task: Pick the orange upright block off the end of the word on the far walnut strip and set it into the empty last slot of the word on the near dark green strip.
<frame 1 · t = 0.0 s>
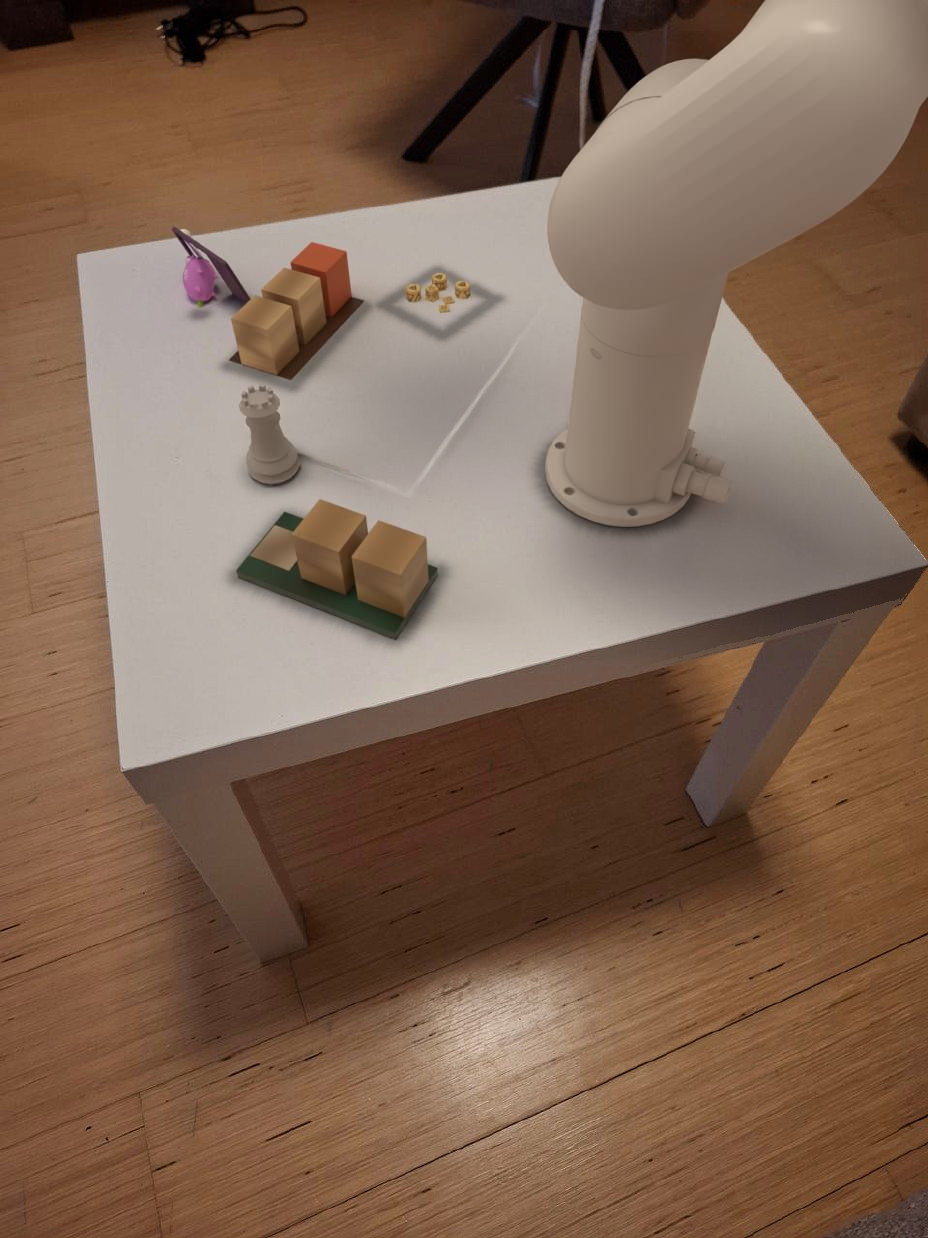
rook chess piece: (275, 470, 78), on the table
near word: (338, 575, 71), on the table
far word: (299, 335, 90), on the table
orange upright block: (325, 301, 92), point 1 cm above the table, touching far word
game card: (213, 304, 93), on the table
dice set: (440, 303, 93), on the table
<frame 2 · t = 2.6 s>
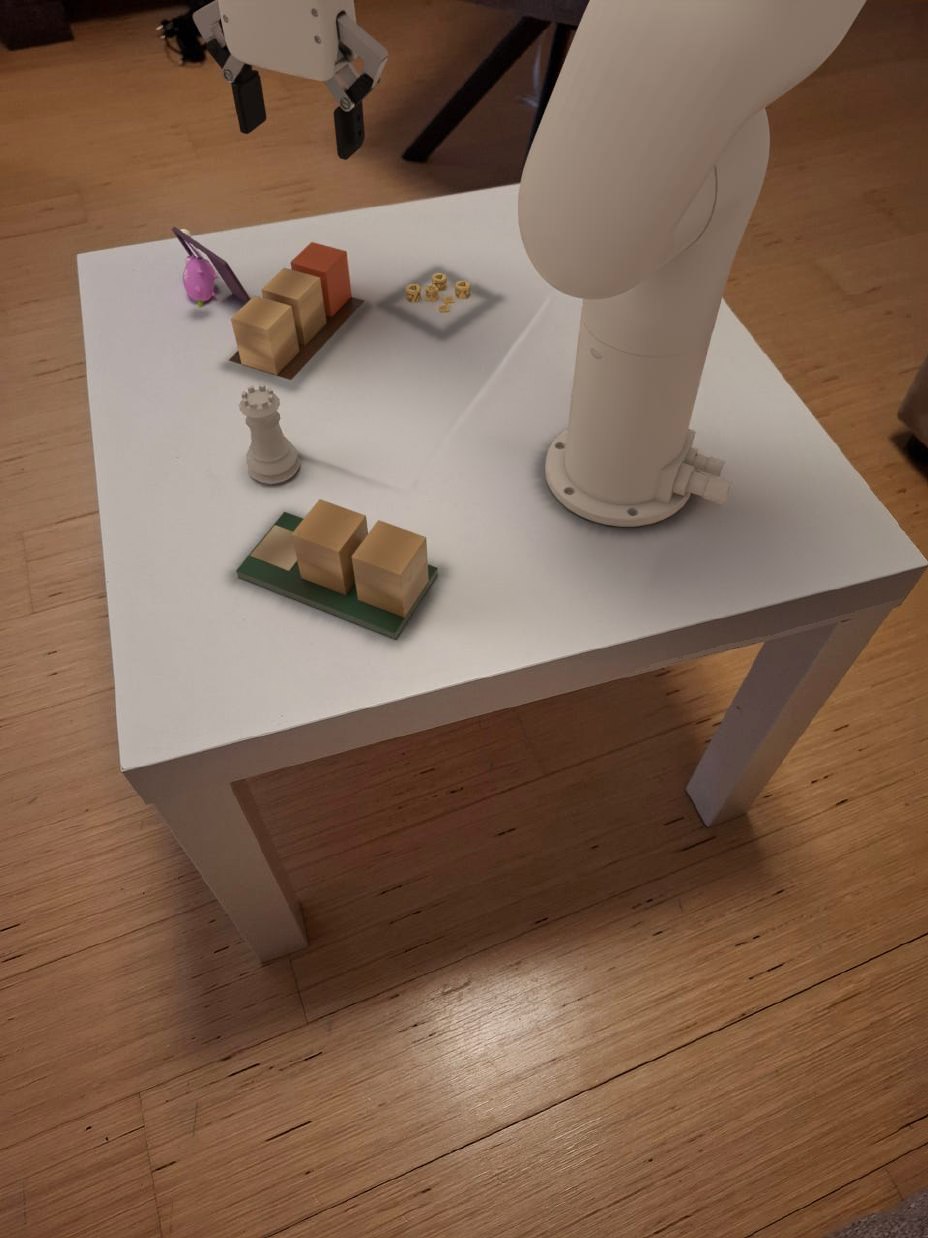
hand: (301, 139, 78), 17 cm above the table, tool pointing down, fingers open, 9 cm apart
nothing on the table moved.
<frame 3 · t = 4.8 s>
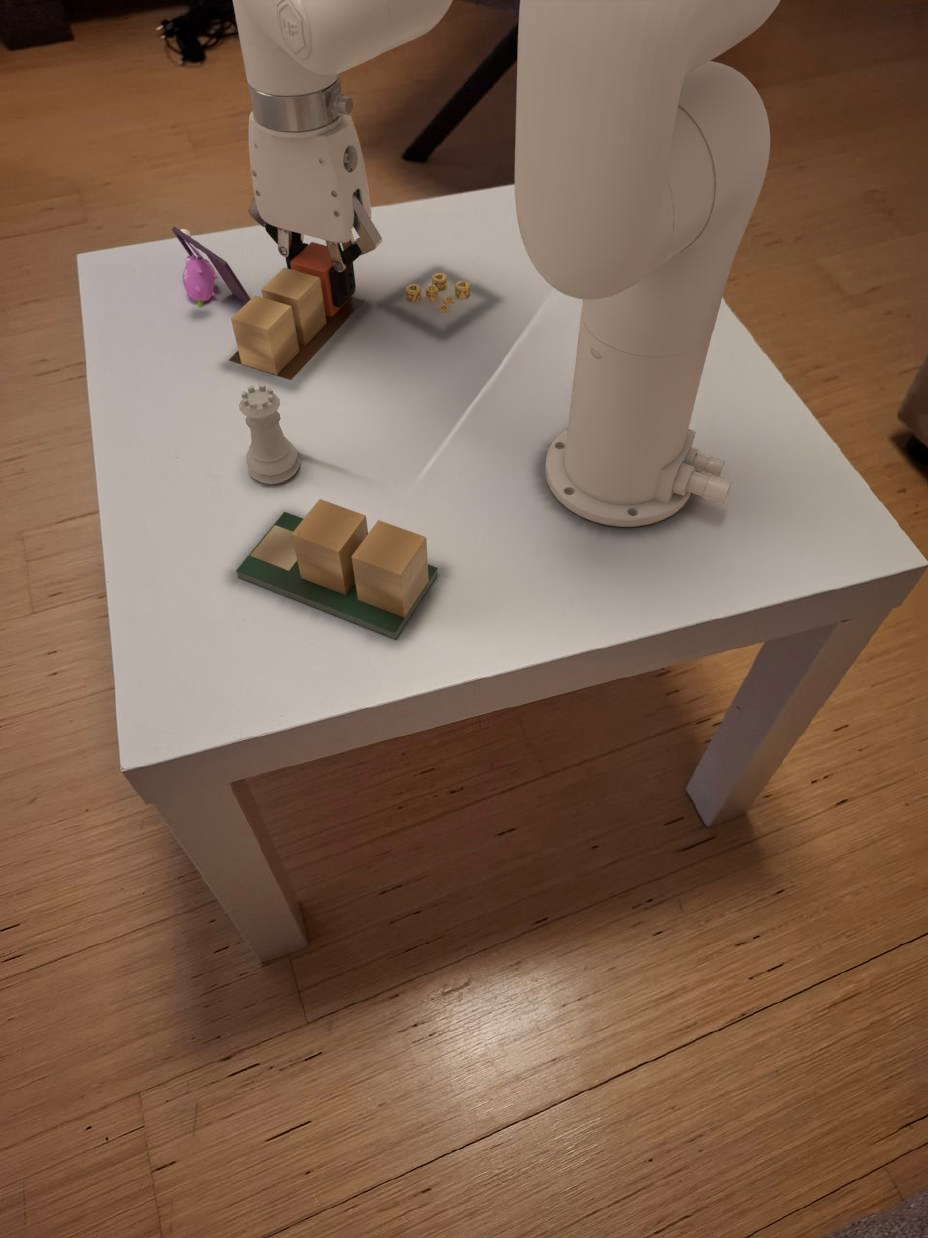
hand: (323, 292, 91), 2 cm above the table, tool pointing down, fingers closed on orange upright block, 4 cm apart
orange upright block: (325, 301, 92), point 1 cm above the table, touching far word, gripper
everything else where it was.
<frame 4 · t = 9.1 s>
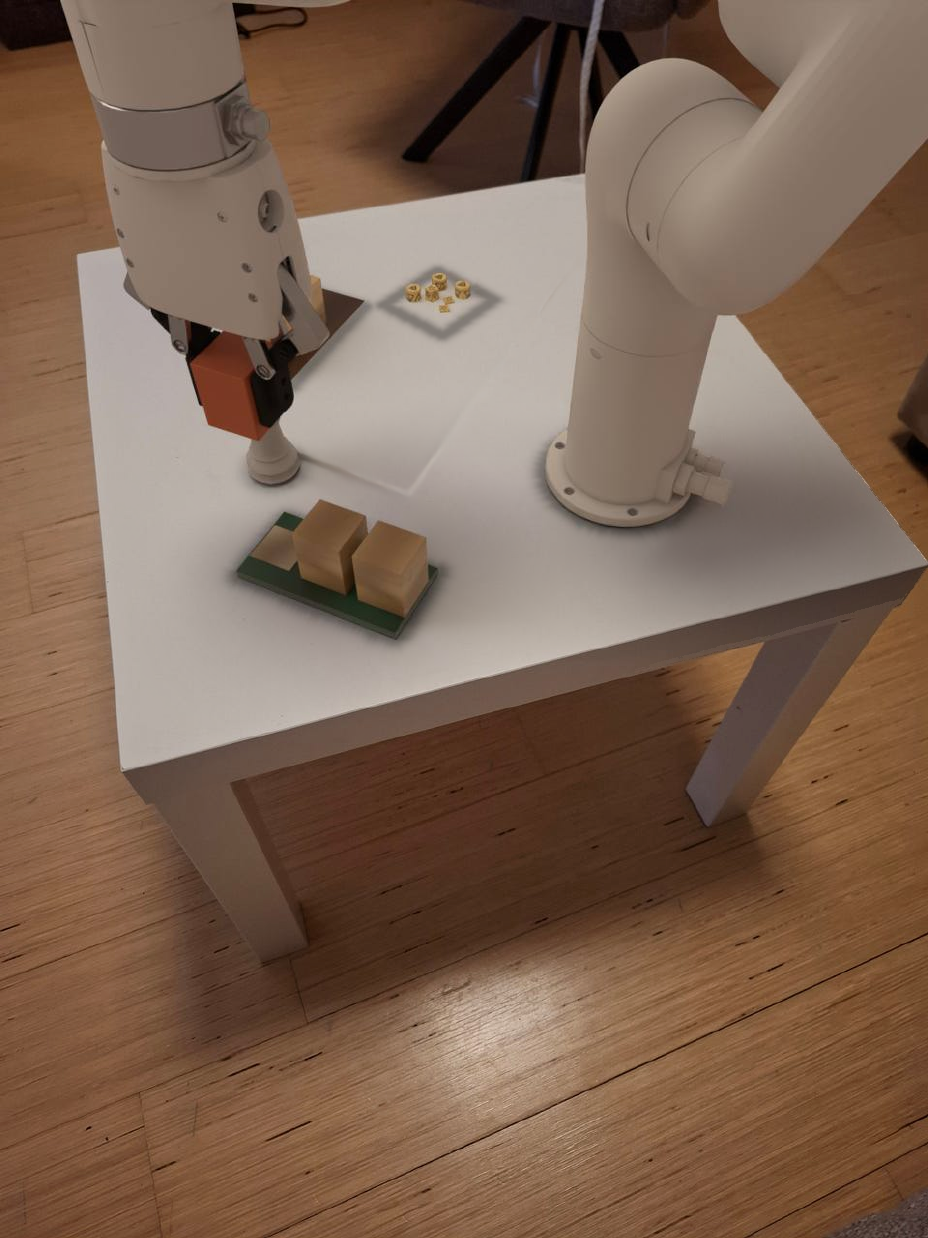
hand: (246, 402, 60), 15 cm above the table, tool pointing down, fingers closed on orange upright block, 4 cm apart
orange upright block: (249, 415, 61), point 14 cm above the table, touching gripper
everything else where it was.
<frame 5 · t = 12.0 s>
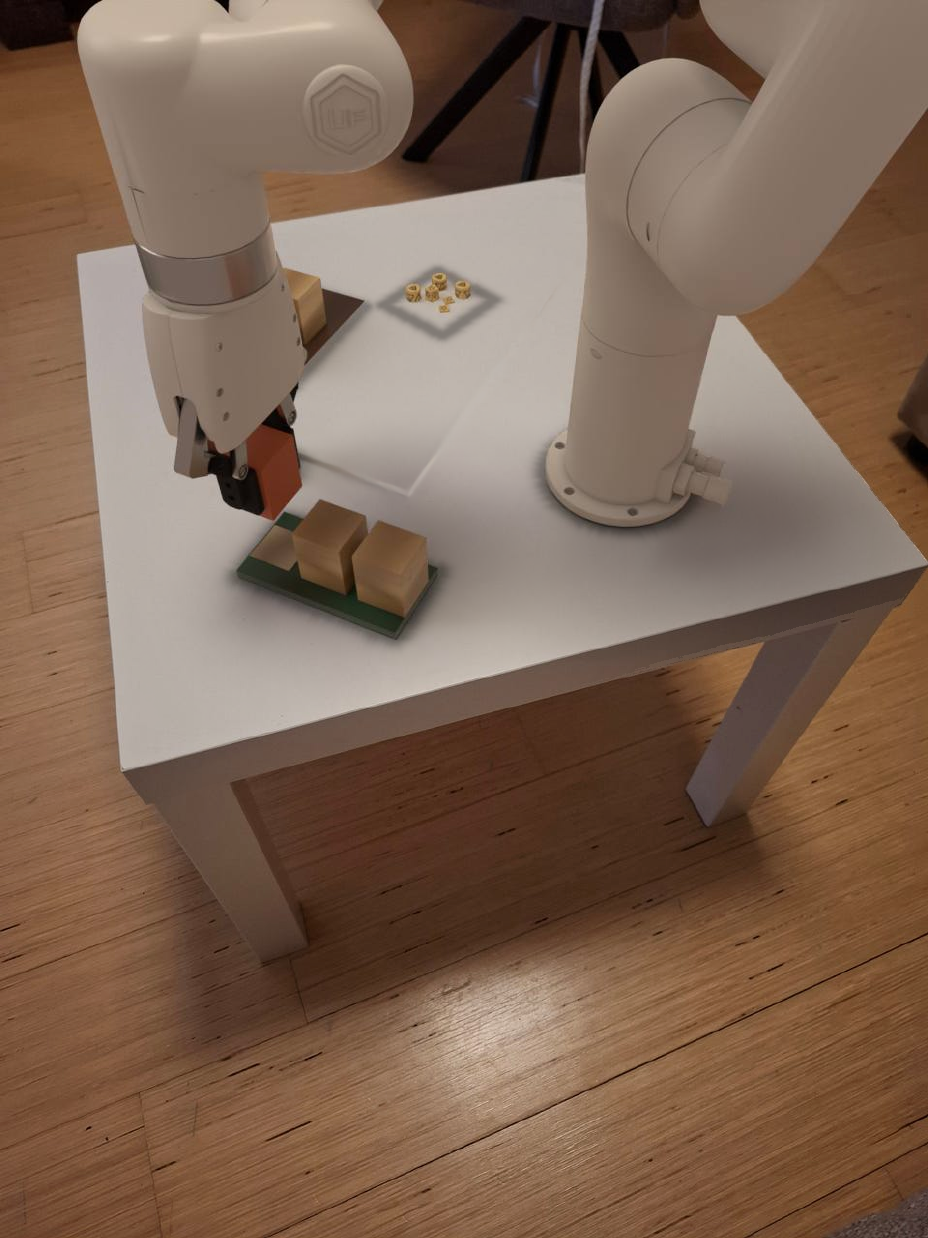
hand: (262, 484, 66), 8 cm above the table, tool pointing down, fingers closed on orange upright block, 4 cm apart
orange upright block: (265, 495, 67), point 7 cm above the table, touching gripper
everything else where it was.
when the fingers open (2 cm above the table, at t = 13.7 s): orange upright block stays where it is, resting on near word.
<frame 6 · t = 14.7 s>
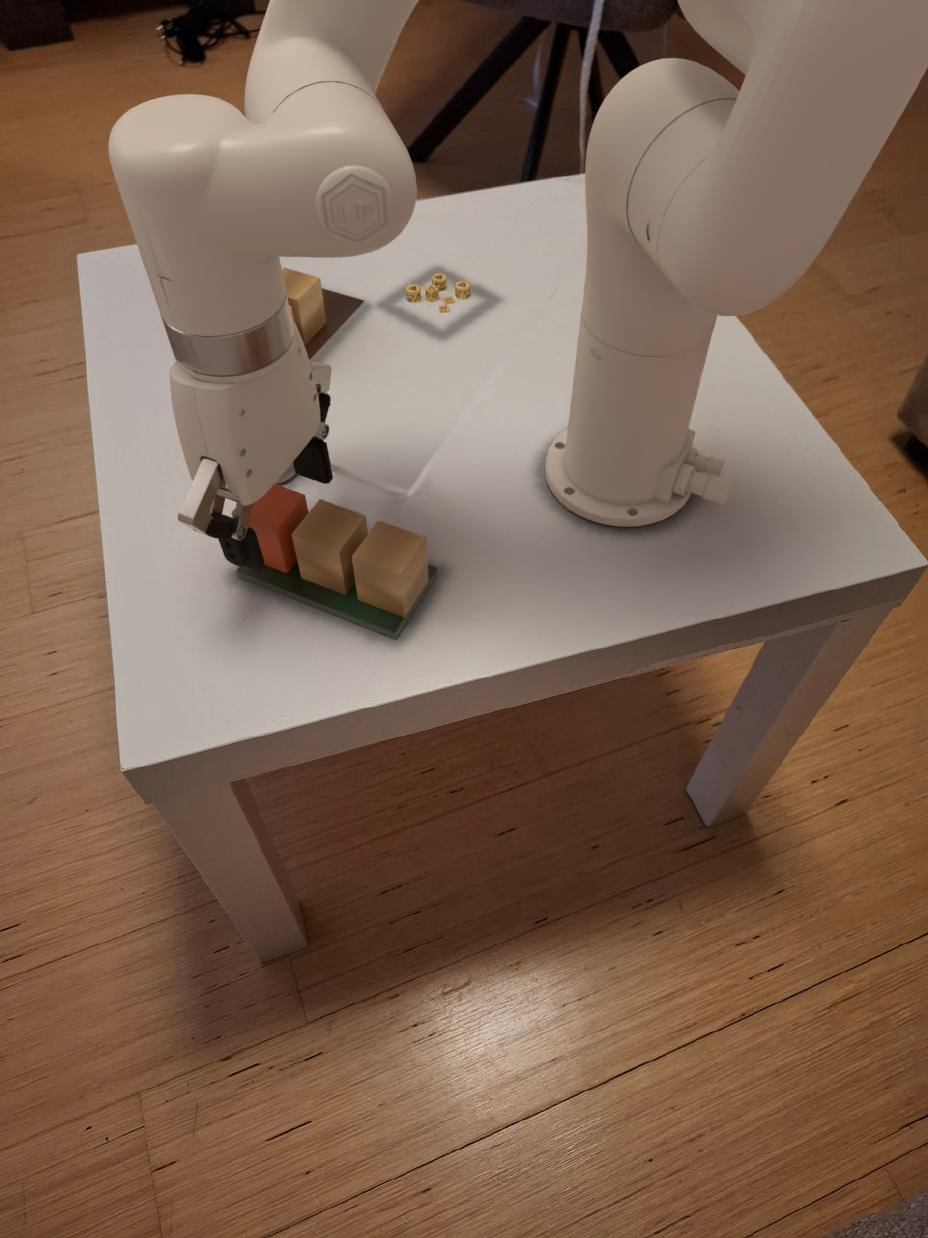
hand: (281, 518, 69), 4 cm above the table, tool pointing down, fingers open, 9 cm apart
orange upright block: (279, 548, 72), point 1 cm above the table, touching near word
everything else where it was.
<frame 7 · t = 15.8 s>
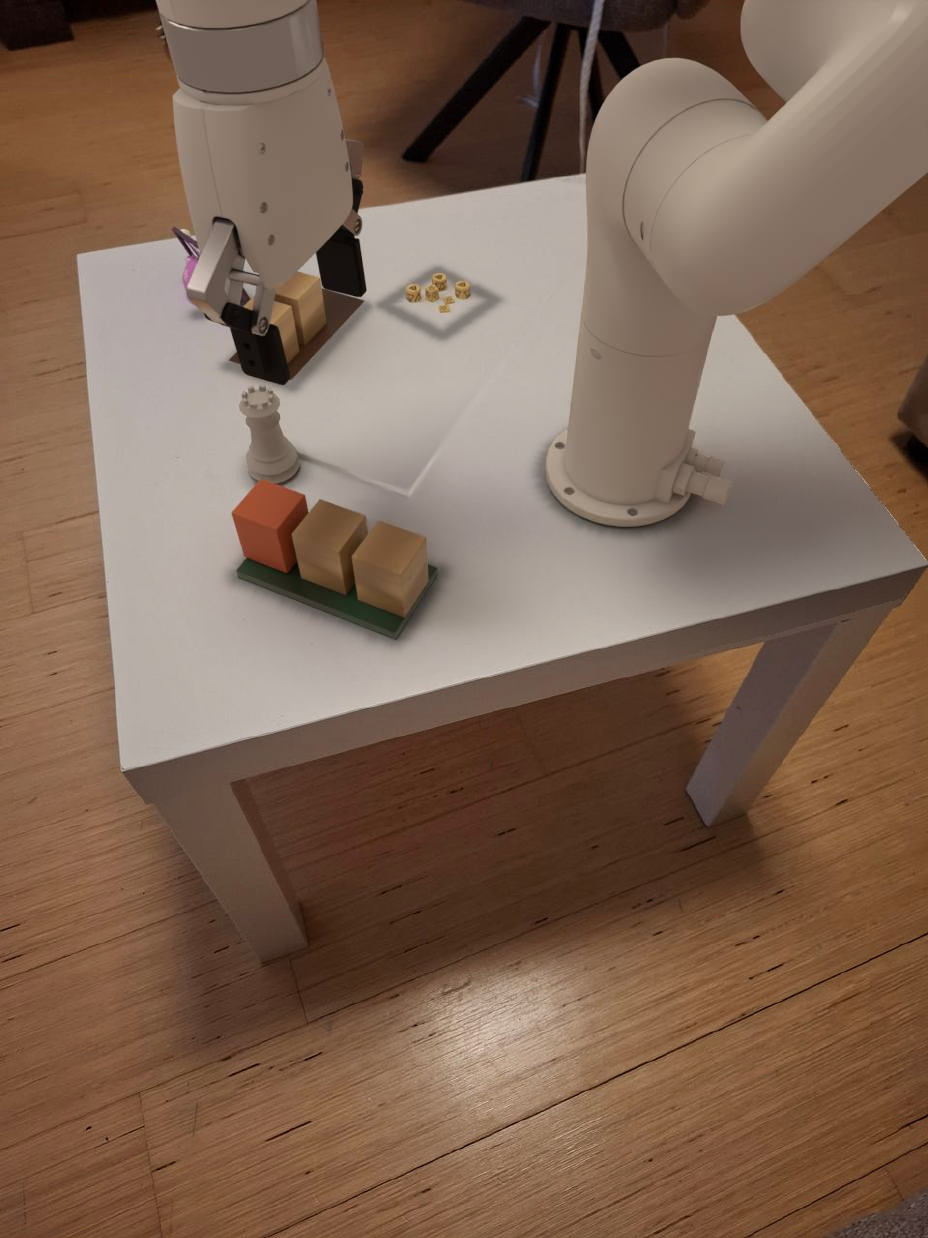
hand: (307, 332, 59), 19 cm above the table, tool pointing down, fingers open, 9 cm apart
nothing on the table moved.
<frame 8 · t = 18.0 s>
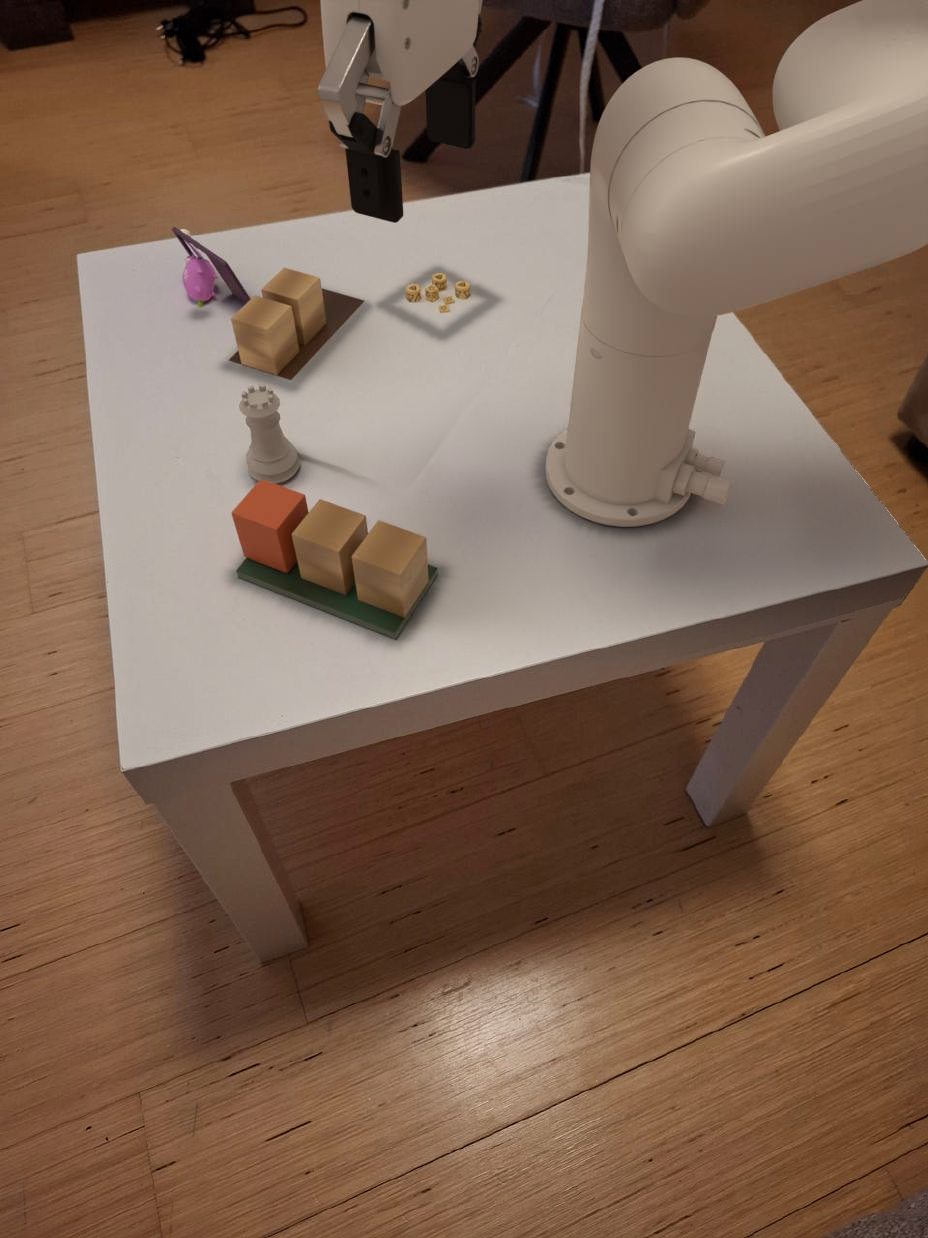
hand: (416, 177, 56), 26 cm above the table, tool pointing down, fingers open, 9 cm apart
nothing on the table moved.
at the end: orange upright block 0.1 cm from the target spot on the near word, point 0.9 cm above the near word's base; orange upright block tilted 0° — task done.
